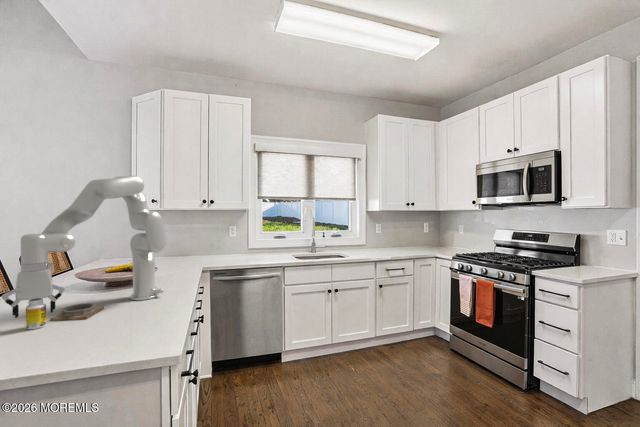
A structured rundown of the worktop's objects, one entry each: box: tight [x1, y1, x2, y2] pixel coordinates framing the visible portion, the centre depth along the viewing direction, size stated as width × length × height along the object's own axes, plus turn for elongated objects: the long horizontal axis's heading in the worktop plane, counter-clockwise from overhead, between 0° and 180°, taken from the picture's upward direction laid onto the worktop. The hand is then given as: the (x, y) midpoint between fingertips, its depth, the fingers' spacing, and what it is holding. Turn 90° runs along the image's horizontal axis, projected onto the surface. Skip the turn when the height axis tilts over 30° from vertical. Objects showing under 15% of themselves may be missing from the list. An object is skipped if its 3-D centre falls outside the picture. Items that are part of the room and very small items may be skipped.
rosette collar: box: [49, 303, 105, 322], centre depth 132 cm, size 13×13×3 cm
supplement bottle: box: [25, 298, 47, 330], centre depth 119 cm, size 6×6×10 cm
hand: (34, 314), depth 118 cm, fingers open, 9 cm apart
